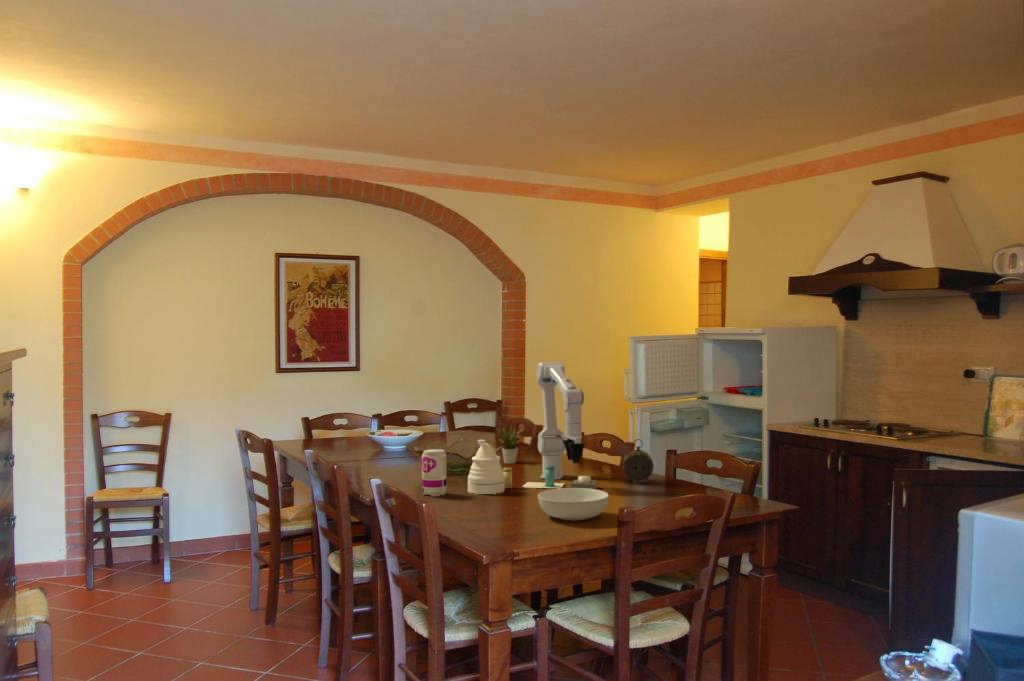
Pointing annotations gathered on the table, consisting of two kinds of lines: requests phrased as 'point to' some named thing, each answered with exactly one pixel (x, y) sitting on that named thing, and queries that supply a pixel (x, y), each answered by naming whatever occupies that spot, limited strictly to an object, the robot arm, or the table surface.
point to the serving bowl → (573, 503)
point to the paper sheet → (542, 485)
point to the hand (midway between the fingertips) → (573, 461)
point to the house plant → (509, 446)
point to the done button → (584, 479)
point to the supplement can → (434, 472)
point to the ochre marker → (507, 477)
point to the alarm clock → (638, 465)
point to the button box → (585, 484)
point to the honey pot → (486, 472)
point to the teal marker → (549, 476)
